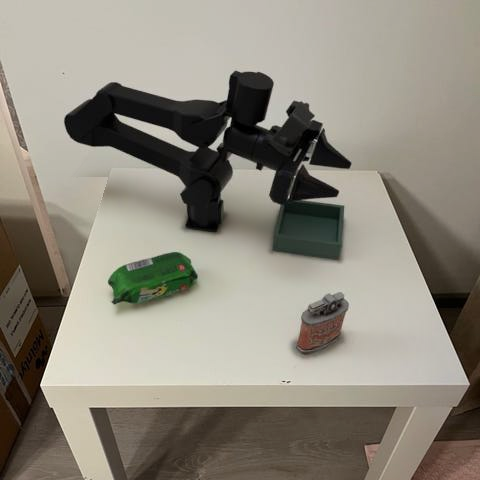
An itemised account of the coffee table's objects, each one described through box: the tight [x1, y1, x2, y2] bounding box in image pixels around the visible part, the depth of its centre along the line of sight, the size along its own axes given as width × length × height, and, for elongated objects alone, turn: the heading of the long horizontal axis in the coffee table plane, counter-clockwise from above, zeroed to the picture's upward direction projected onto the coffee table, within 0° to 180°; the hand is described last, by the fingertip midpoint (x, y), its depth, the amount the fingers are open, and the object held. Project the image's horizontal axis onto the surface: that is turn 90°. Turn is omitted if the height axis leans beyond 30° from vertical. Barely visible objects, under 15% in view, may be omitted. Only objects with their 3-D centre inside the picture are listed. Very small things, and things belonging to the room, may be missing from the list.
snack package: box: [107, 251, 199, 305], centre depth 83 cm, size 7×16×5 cm, turn 115°
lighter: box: [295, 291, 350, 356], centre depth 74 cm, size 8×3×10 cm, turn 120°
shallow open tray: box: [271, 197, 345, 261], centre depth 95 cm, size 13×13×4 cm
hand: (344, 179), depth 81 cm, fingers open, 9 cm apart
